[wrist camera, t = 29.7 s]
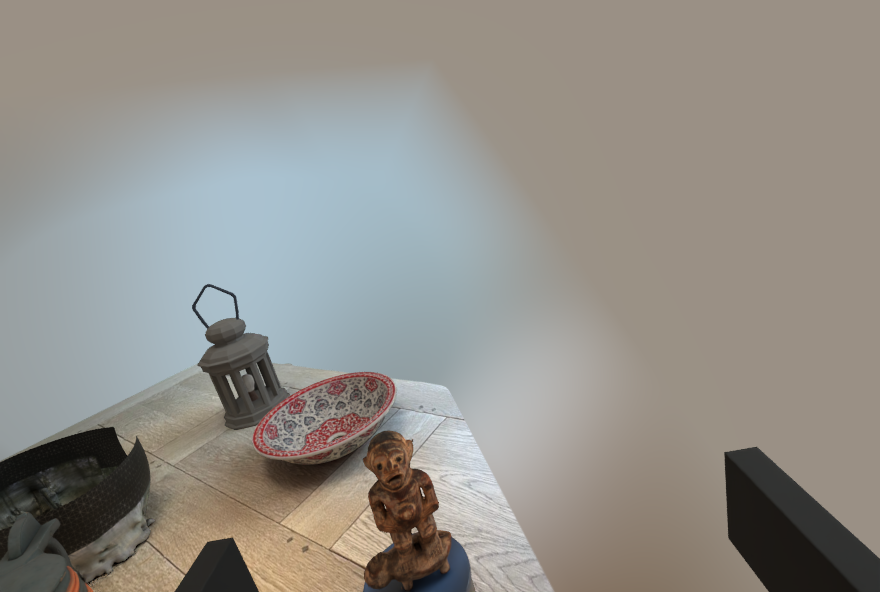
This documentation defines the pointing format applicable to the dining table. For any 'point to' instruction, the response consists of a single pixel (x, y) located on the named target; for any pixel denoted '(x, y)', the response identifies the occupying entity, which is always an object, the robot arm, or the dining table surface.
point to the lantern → (233, 357)
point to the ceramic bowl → (325, 419)
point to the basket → (81, 497)
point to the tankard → (37, 560)
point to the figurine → (403, 515)
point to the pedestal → (439, 576)
